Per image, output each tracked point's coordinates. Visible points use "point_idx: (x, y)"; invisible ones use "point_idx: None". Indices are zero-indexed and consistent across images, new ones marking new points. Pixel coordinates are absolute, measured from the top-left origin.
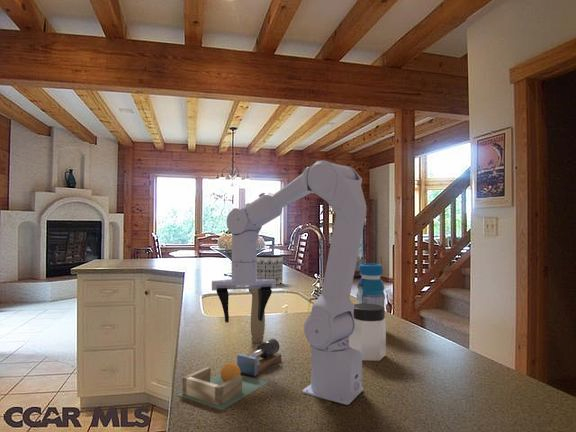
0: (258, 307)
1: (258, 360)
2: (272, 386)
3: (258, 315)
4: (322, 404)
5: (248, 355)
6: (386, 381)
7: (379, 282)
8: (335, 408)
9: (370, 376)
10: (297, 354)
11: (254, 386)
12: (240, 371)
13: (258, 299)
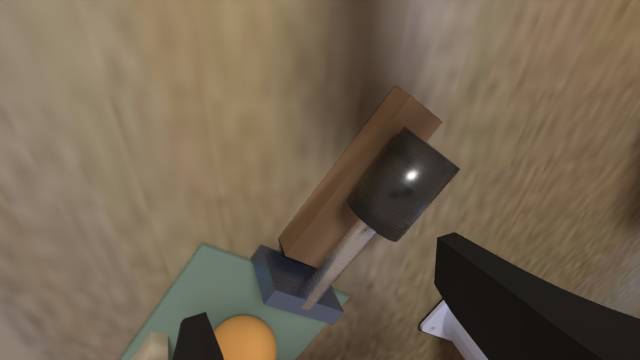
0: (499, 288)
1: (338, 204)
2: (357, 305)
3: (453, 273)
4: (441, 350)
5: (311, 306)
6: (613, 234)
7: None
8: (456, 356)
9: (603, 213)
10: (512, 24)
11: (310, 326)
12: (276, 347)
13: (562, 334)
